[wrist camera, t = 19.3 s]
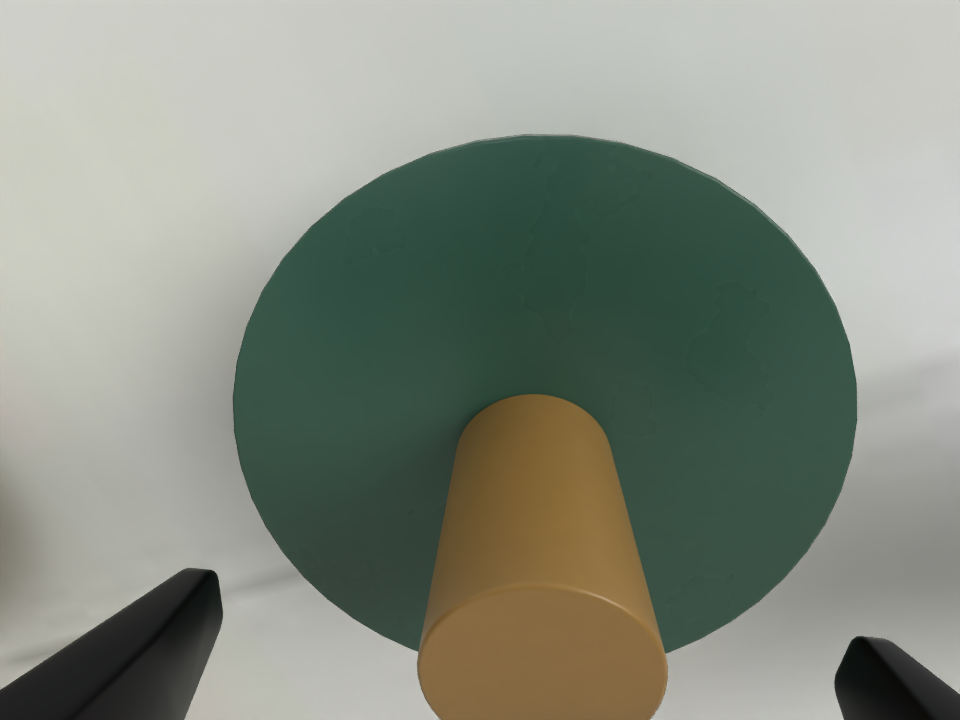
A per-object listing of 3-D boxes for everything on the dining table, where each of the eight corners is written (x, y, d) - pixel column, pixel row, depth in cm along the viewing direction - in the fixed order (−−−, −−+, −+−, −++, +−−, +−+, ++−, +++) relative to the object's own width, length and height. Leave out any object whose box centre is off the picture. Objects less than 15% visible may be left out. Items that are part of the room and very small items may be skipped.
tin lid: (842, 64, 10) (1284, 5, 4) (818, 613, 15) (1007, 933, 9) (167, 201, 11) (-175, 292, 6) (344, 653, 16) (250, 945, 11)
